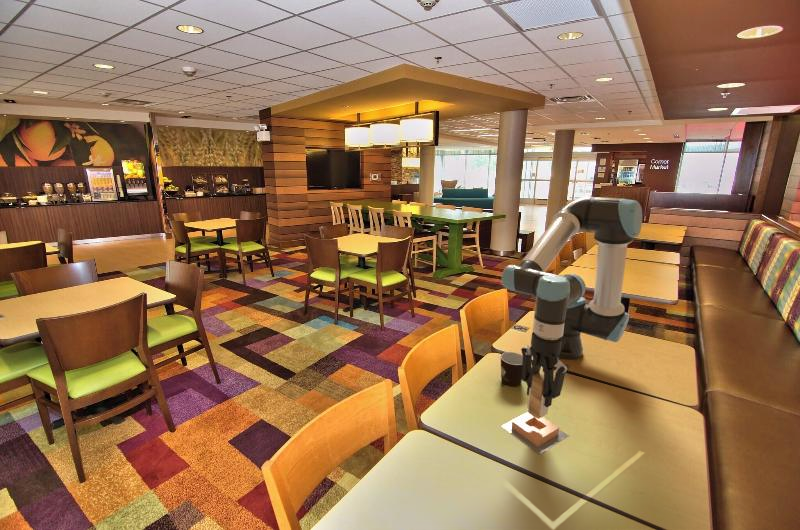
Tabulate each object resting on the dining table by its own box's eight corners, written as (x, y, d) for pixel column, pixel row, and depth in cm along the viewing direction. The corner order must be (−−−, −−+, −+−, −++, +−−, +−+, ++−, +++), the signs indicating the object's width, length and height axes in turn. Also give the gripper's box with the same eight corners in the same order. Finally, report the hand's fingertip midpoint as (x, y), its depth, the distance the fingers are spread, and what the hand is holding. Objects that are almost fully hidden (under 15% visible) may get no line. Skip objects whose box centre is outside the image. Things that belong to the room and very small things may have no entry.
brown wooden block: (535, 408, 107) (540, 371, 104) (545, 415, 104) (550, 377, 101) (528, 412, 105) (532, 375, 102) (537, 419, 103) (542, 380, 100)
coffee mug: (525, 392, 126) (528, 366, 123) (498, 389, 127) (501, 363, 125) (521, 374, 137) (524, 349, 134) (497, 371, 138) (499, 346, 136)
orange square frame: (531, 416, 113) (532, 410, 112) (558, 434, 105) (559, 427, 105) (511, 427, 108) (512, 420, 107) (537, 446, 101) (538, 440, 100)
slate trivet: (530, 413, 115) (530, 410, 115) (568, 438, 105) (569, 435, 105) (501, 428, 109) (501, 426, 108) (539, 457, 98) (539, 454, 98)
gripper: (513, 326, 103) (505, 399, 109) (566, 350, 90) (554, 433, 96) (530, 320, 107) (522, 391, 113) (584, 342, 94) (571, 422, 100)
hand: (537, 410), depth 105 cm, fingers closed on brown wooden block, 3 cm apart
